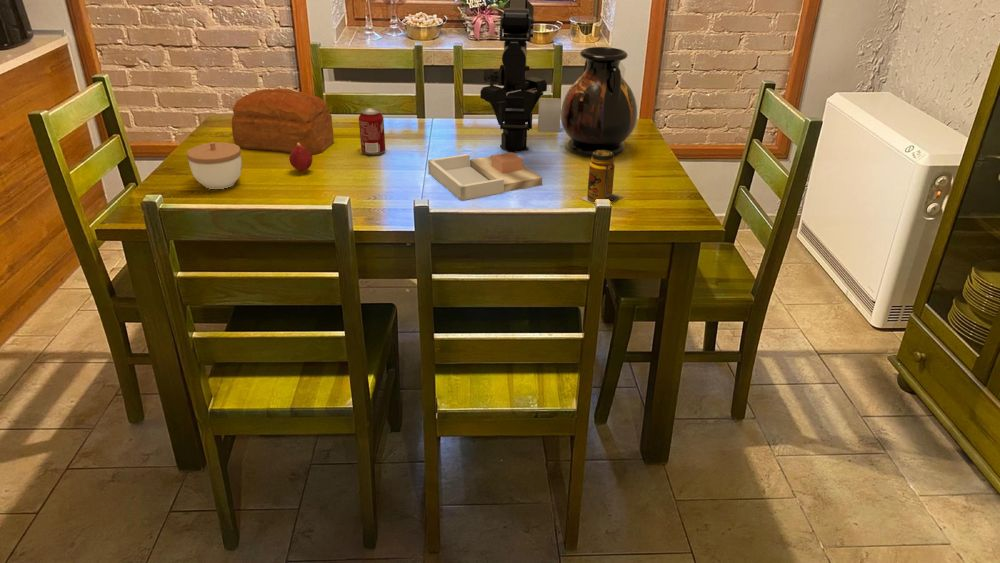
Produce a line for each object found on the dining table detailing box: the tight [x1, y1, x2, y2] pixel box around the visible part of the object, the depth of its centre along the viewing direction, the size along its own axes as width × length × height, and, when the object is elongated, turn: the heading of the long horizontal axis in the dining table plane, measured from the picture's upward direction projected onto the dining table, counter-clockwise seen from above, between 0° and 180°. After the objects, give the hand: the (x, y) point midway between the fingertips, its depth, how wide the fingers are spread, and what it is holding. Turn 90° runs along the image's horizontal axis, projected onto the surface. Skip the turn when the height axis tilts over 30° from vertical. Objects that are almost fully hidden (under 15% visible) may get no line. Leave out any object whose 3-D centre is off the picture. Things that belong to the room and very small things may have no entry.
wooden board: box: [470, 155, 543, 193], centre depth 194 cm, size 11×20×2 cm, turn 27°
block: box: [491, 152, 524, 173], centre depth 193 cm, size 6×6×3 cm
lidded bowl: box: [186, 141, 243, 190], centre depth 183 cm, size 13×13×11 cm
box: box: [427, 153, 505, 201], centre depth 189 cm, size 12×21×4 cm, turn 27°
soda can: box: [358, 107, 386, 156], centre depth 206 cm, size 7×7×12 cm
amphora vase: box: [560, 46, 638, 158], centre depth 207 cm, size 22×22×28 cm
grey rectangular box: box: [537, 97, 562, 133], centre depth 227 cm, size 4×7×10 cm, turn 87°
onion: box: [289, 143, 313, 173], centre depth 193 cm, size 6×6×8 cm
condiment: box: [580, 150, 624, 204], centre depth 179 cm, size 7×8×12 cm
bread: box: [231, 87, 335, 155], centre depth 210 cm, size 16×27×16 cm, turn 77°
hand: (513, 121), depth 194 cm, fingers open, 9 cm apart
